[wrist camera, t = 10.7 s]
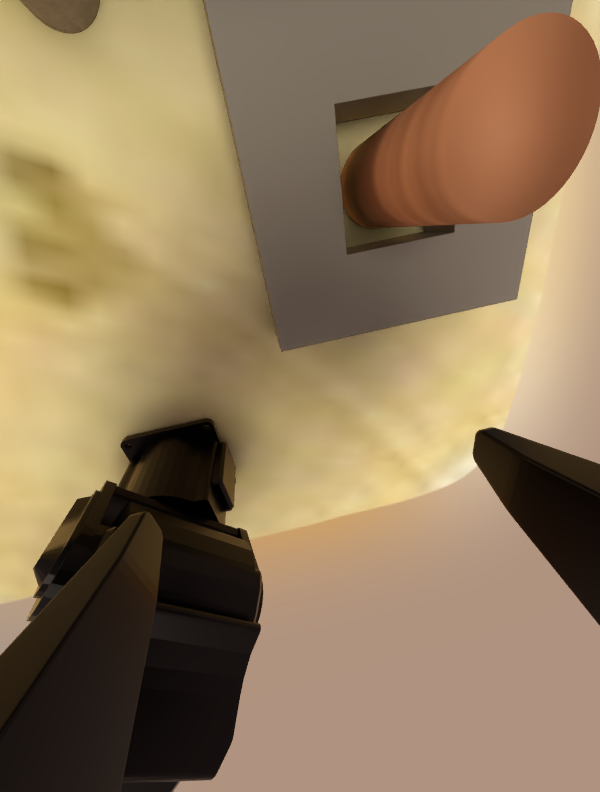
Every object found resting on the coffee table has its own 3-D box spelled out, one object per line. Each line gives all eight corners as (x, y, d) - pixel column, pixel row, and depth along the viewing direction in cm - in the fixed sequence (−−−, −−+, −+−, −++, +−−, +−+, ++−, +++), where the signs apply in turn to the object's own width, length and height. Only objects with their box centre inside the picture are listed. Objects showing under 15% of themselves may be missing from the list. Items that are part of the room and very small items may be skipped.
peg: (344, 234, 17) (443, 236, 8) (336, 145, 15) (454, 28, 6) (411, 220, 17) (576, 207, 9) (411, 130, 15) (626, -3, 7)
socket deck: (276, 335, 19) (281, 351, 17) (110, -415, 8) (50, -704, 6) (481, 290, 20) (516, 299, 17) (577, -460, 9) (710, -736, 6)
